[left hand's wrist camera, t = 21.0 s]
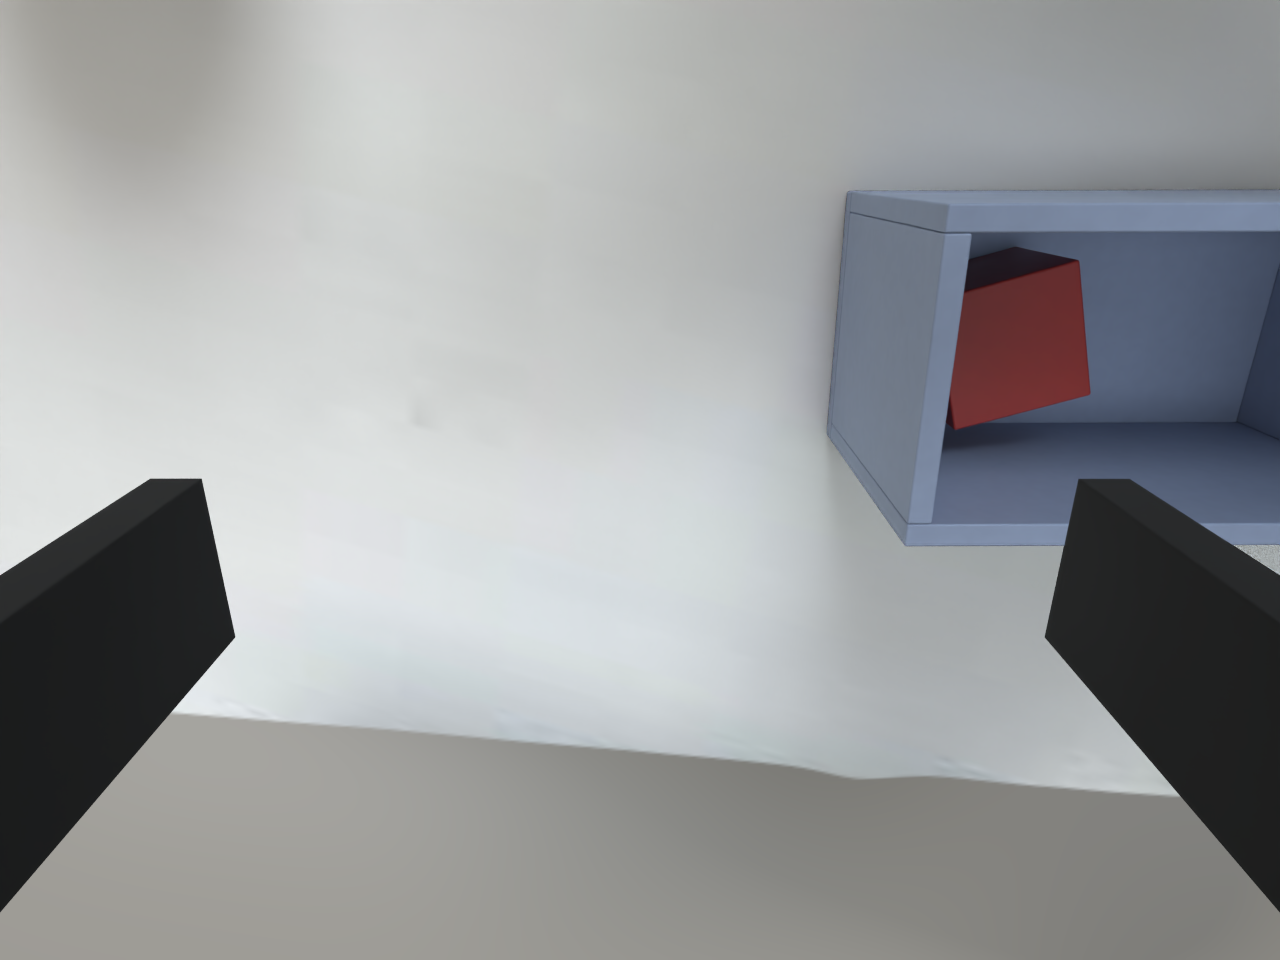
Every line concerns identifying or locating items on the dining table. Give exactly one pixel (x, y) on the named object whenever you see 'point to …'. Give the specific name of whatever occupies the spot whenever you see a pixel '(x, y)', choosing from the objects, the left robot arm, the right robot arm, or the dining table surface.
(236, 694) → the dining table surface
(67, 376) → the dining table surface
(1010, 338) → the block
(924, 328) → the chest
